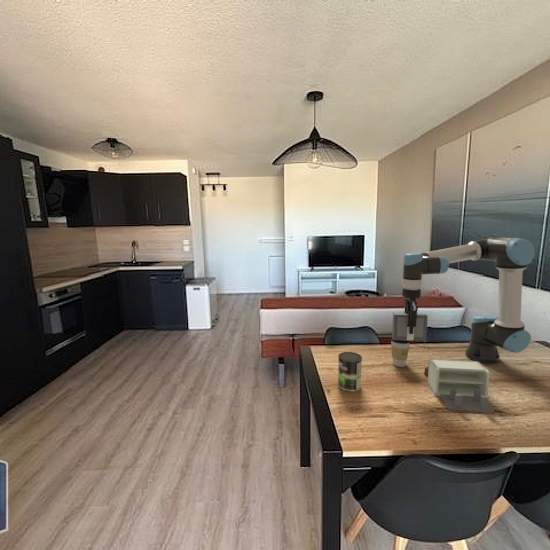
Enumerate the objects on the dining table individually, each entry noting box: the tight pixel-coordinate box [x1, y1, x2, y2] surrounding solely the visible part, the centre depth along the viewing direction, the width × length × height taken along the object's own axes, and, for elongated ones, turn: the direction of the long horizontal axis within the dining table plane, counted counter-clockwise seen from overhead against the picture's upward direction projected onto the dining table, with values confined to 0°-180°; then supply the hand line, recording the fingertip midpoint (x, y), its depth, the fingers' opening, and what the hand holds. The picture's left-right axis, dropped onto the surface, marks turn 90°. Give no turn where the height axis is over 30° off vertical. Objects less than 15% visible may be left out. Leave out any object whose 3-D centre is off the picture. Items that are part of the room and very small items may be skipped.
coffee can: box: [337, 351, 363, 392], centre depth 137 cm, size 10×10×14 cm
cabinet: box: [427, 358, 495, 414], centre depth 126 cm, size 20×20×12 cm
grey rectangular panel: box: [391, 312, 428, 342], centre depth 138 cm, size 14×3×12 cm, turn 80°
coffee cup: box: [389, 335, 412, 367], centre depth 157 cm, size 10×10×15 cm
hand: (409, 338), depth 139 cm, fingers closed on grey rectangular panel, 3 cm apart
